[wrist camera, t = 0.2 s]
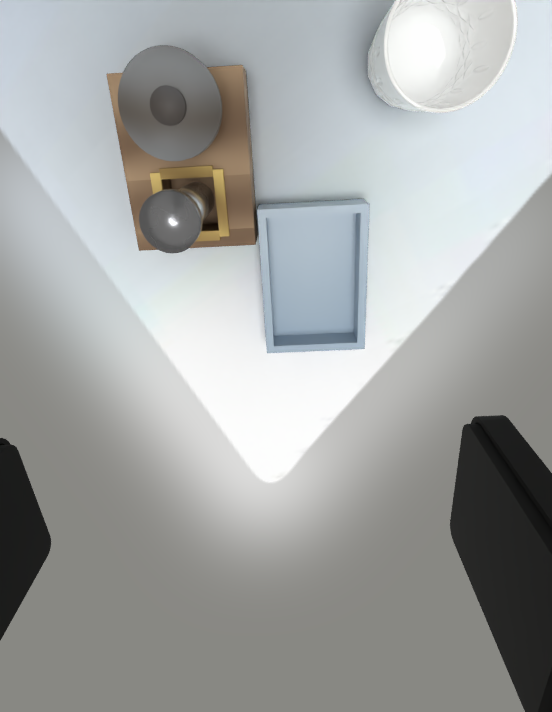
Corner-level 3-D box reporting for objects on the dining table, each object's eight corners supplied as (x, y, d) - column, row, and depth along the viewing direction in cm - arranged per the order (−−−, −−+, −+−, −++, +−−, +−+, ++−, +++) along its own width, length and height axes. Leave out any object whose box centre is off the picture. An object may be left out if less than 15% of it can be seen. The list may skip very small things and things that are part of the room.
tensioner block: (120, 64, 37) (82, 49, 30) (245, 56, 37) (236, 38, 30) (151, 240, 43) (125, 262, 36) (257, 235, 43) (252, 255, 36)
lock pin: (171, 176, 40) (133, 192, 30) (217, 174, 40) (195, 189, 29) (178, 224, 41) (144, 254, 31) (222, 222, 41) (203, 251, 31)
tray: (258, 204, 42) (257, 209, 39) (363, 198, 41) (369, 203, 38) (267, 339, 47) (267, 353, 45) (359, 336, 47) (364, 348, 44)
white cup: (370, 130, 39) (397, 130, 30) (349, 21, 36) (371, -16, 27) (465, 98, 38) (523, 88, 29) (452, -18, 34) (512, -70, 25)
